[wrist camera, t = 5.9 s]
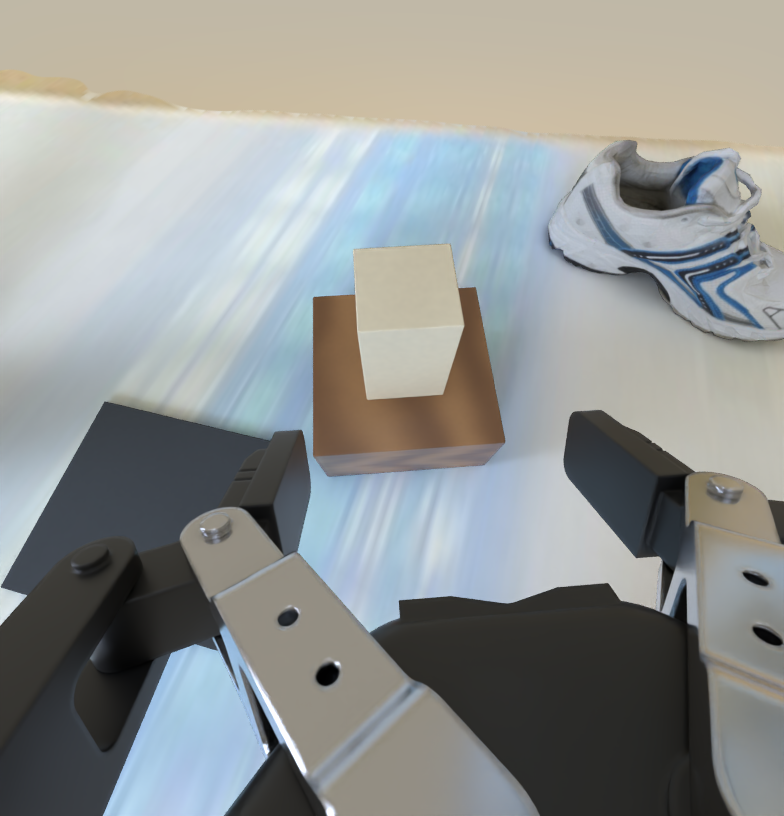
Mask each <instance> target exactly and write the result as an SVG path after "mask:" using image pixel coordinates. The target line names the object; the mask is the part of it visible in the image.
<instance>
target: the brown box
mask: <svg viewBox="0 0 784 816" xmlns="http://www.w3.org/2000/svg"><path fill="white" fill-rule="evenodd" d="M458 290H459V296H460V302H461V308H462V314H463V319H464V329H463V332H462V335H461V338H460V341H459V345H458V348H457V351H456V354H455V358H454V361H453V364H452V367H451V370H450V374H449V377H448V380H447V383H446V386H445V390H444V393H443V395H432V396H418V397H403V398H389V399H374V400H367V397H366V390H365V383H364V376H363V369H362V362H361V355H360V348H359V341H358V334H357V317H356V297H355V295H339V296H322V297H313V456H314V458H315V459H316V461H317V462H318V463H319V465H320V466H321V468H322V469H323V470H324V472H325V473H326V475H327V476H328V477H331V476H344V475H357V474H371V473H384V472H398V471H411V470H424V469H438V468H451V467H464V466H478V465H485V463H486V462H487V461H488V460H489V459H490V458H491V457H492V456H493V455H494V454H495V453H496V452H497V451H498V450H499V449H500V448H501V447H502V446H503V444H504V443H505V437H504V432H503V427H502V421H501V416H500V411H499V406H498V401H497V395H496V390H495V385H494V380H493V375H492V369H491V364H490V359H489V354H488V349H487V343H486V338H485V333H484V328H483V323H482V317H481V312H480V307H479V302H478V297H477V291H476V287H472V288H458Z"/></svg>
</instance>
